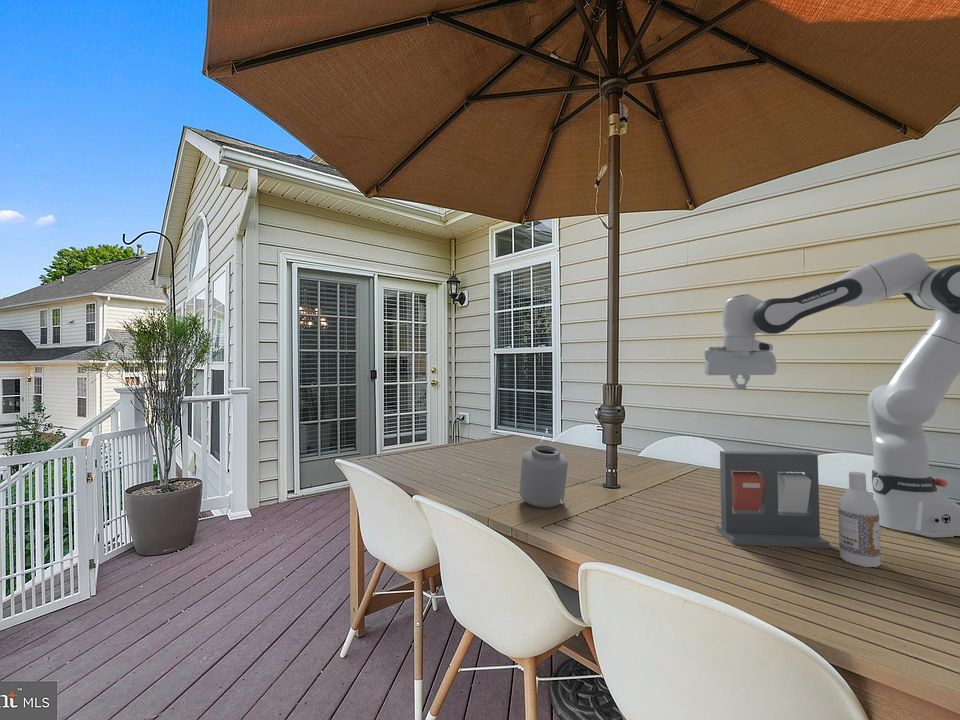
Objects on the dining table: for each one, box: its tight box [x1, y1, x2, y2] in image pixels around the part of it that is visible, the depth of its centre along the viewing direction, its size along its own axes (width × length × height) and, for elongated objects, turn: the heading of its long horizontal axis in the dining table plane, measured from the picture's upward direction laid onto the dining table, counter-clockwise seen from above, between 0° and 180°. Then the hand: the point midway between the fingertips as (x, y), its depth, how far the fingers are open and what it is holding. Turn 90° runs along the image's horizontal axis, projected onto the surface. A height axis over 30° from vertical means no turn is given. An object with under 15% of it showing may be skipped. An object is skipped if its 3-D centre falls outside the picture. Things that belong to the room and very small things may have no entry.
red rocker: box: [731, 471, 764, 511], centre depth 112 cm, size 6×4×9 cm
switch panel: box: [715, 450, 830, 549], centre depth 111 cm, size 22×10×22 cm, turn 82°
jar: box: [519, 428, 569, 509], centre depth 141 cm, size 19×15×25 cm
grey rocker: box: [777, 472, 811, 513], centre depth 110 cm, size 6×4×9 cm, turn 82°
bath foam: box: [837, 471, 882, 568], centre depth 98 cm, size 7×7×20 cm
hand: (740, 389), depth 137 cm, fingers closed
